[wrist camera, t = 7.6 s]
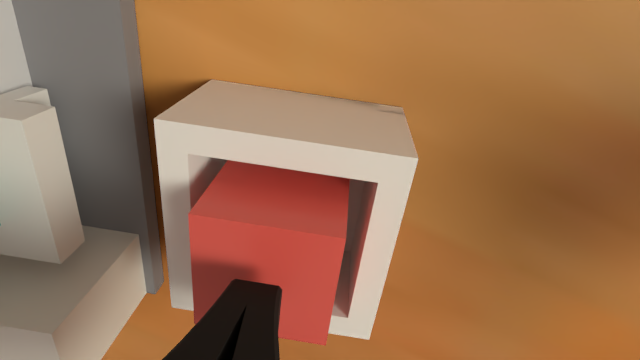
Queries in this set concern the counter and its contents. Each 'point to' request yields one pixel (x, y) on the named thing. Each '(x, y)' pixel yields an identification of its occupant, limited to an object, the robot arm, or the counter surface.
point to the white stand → (83, 178)
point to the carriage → (35, 181)
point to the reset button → (272, 241)
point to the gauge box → (294, 154)
